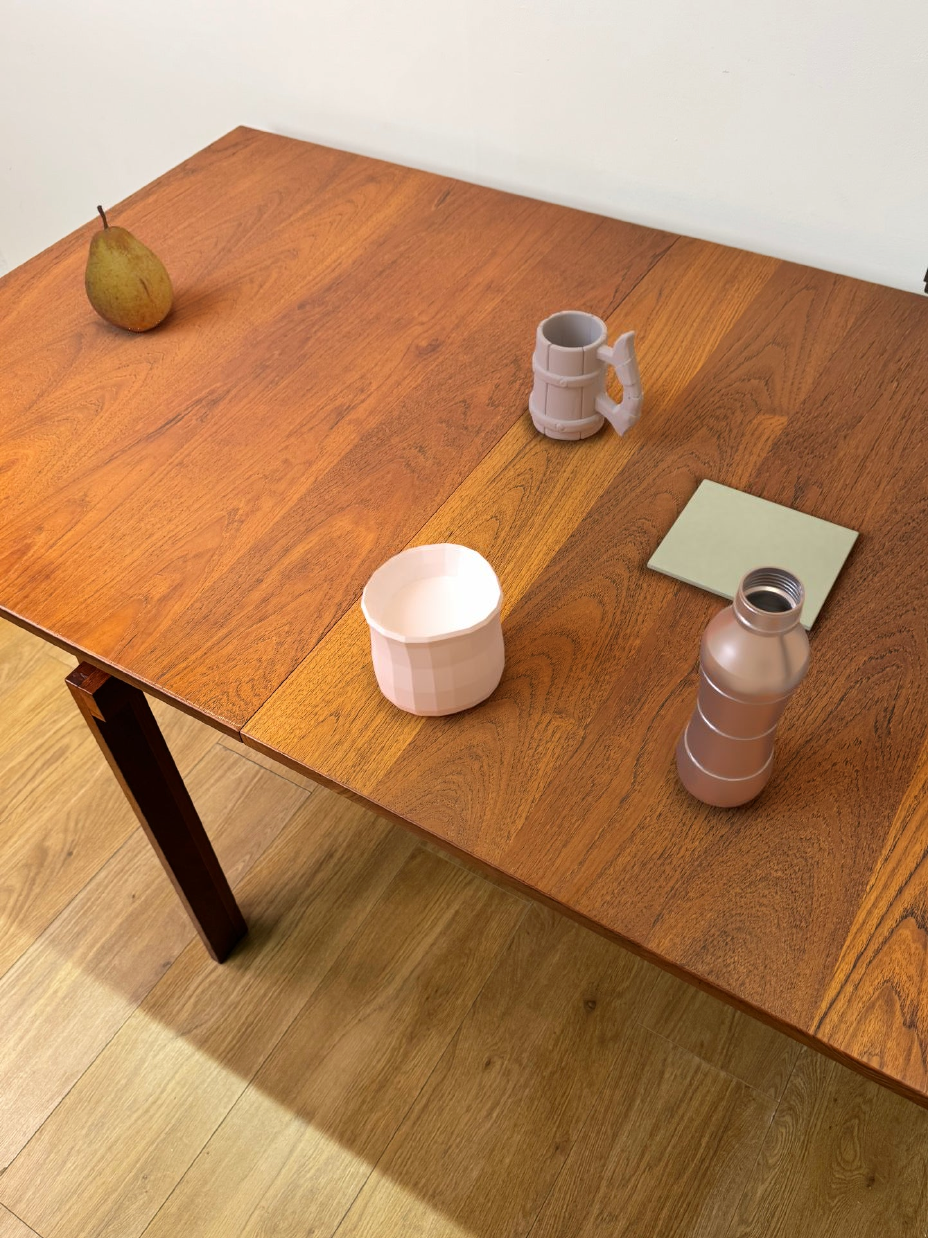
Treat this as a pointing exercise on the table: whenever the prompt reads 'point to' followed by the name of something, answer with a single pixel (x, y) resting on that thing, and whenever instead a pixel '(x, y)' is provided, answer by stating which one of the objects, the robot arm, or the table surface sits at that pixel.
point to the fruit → (126, 280)
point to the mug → (582, 378)
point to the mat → (751, 545)
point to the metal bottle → (744, 688)
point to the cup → (435, 629)
